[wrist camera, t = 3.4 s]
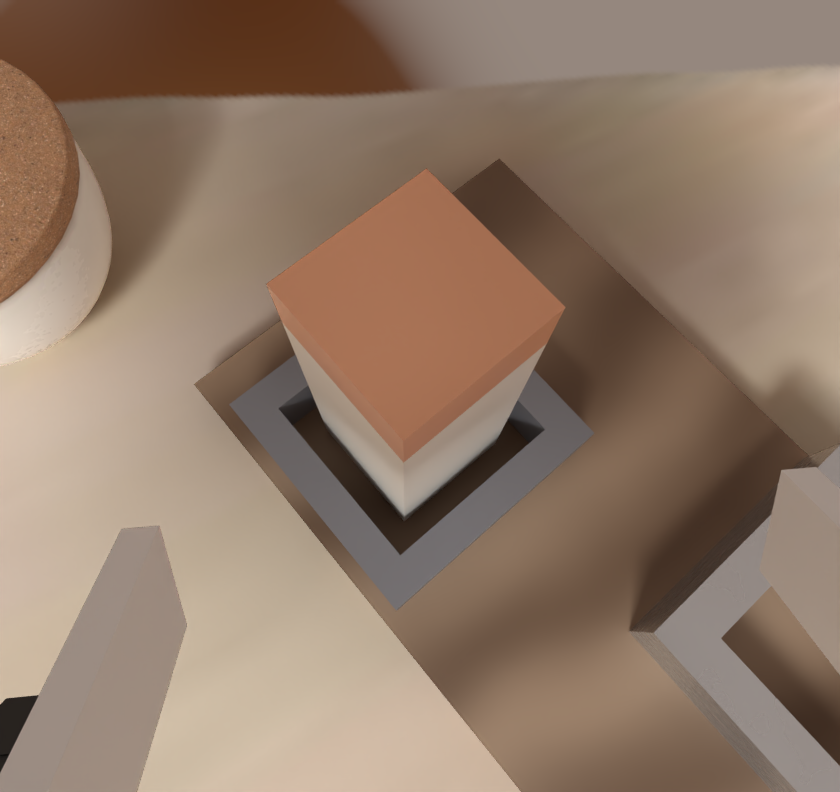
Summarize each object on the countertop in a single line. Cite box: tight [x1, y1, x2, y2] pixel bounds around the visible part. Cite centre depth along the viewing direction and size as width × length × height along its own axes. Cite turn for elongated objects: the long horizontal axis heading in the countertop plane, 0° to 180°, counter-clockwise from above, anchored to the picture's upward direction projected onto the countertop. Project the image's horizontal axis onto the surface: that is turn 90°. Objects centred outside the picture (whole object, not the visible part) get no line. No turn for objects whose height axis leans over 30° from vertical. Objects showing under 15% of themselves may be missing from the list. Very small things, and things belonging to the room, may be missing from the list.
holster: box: [229, 354, 594, 611], centre depth 25 cm, size 9×9×2 cm
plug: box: [266, 168, 565, 521], centre depth 20 cm, size 4×4×12 cm
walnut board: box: [194, 159, 840, 792], centre depth 26 cm, size 30×16×2 cm, turn 41°
